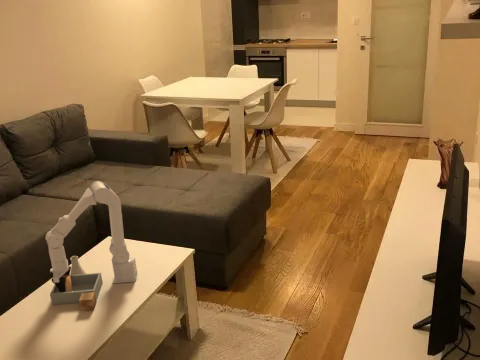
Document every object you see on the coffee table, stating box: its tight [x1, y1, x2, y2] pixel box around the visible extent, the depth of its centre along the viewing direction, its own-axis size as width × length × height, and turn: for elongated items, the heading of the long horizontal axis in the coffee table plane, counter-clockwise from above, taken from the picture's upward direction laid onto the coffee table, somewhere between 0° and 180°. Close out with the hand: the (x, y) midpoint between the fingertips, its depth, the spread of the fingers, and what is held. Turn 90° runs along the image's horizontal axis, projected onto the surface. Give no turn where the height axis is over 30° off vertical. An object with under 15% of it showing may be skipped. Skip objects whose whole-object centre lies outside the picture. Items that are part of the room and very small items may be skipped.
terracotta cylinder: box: [62, 274, 73, 292], centre depth 211 cm, size 5×5×7 cm
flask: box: [69, 255, 87, 275], centre depth 222 cm, size 7×7×10 cm
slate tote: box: [49, 272, 104, 306], centre depth 212 cm, size 17×13×5 cm
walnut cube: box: [78, 292, 97, 312], centre depth 203 cm, size 5×5×5 cm
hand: (64, 288), depth 211 cm, fingers closed on terracotta cylinder, 5 cm apart
